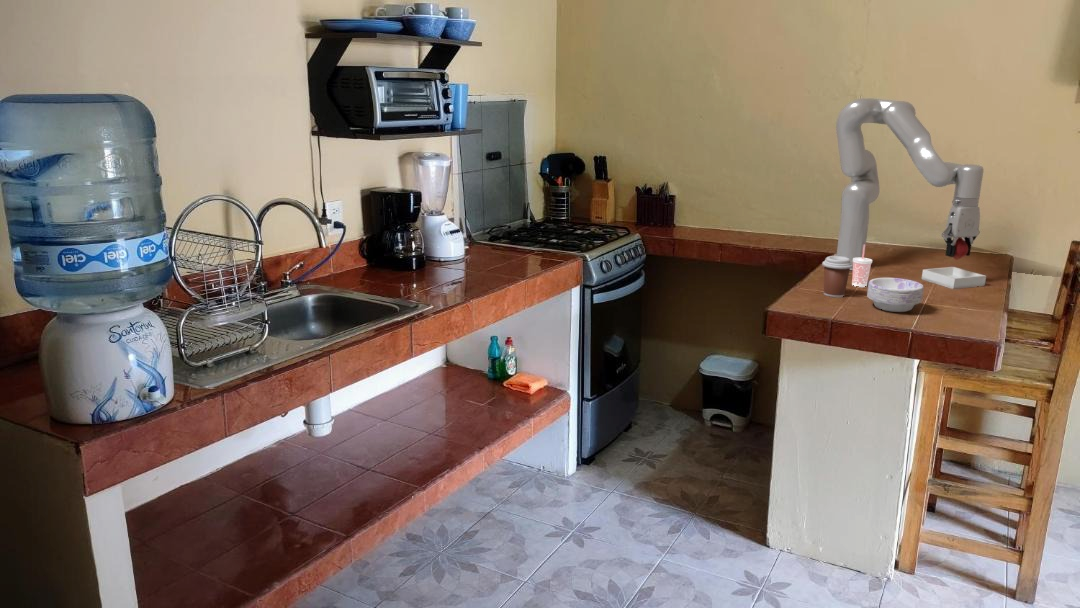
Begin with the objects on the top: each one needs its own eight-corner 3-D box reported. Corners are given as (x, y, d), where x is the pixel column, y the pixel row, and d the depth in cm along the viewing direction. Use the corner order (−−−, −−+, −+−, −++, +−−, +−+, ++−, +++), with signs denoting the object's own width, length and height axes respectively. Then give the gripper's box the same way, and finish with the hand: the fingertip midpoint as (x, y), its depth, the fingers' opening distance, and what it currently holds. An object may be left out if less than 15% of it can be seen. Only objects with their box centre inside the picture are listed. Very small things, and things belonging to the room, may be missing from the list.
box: (953, 289, 256) (954, 278, 255) (921, 279, 268) (922, 269, 267) (984, 285, 260) (986, 275, 259) (952, 276, 273) (953, 266, 272)
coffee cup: (845, 300, 242) (850, 262, 239) (815, 295, 247) (819, 259, 244) (851, 293, 250) (856, 257, 246) (822, 289, 254) (826, 253, 251)
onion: (964, 258, 264) (968, 235, 261) (967, 262, 258) (971, 238, 256) (946, 257, 265) (949, 234, 263) (948, 260, 260) (952, 237, 258)
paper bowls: (855, 306, 236) (858, 281, 234) (883, 298, 244) (887, 274, 242) (902, 318, 224) (906, 292, 222) (930, 310, 233) (934, 284, 230)
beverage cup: (845, 284, 261) (850, 243, 257) (859, 282, 264) (864, 242, 260) (859, 288, 256) (864, 247, 252) (873, 286, 258) (878, 245, 254)
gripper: (954, 205, 250) (946, 259, 255) (995, 202, 256) (986, 256, 261) (936, 202, 257) (928, 255, 262) (976, 199, 263) (967, 251, 268)
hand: (957, 255), depth 261 cm, fingers closed on onion, 5 cm apart
